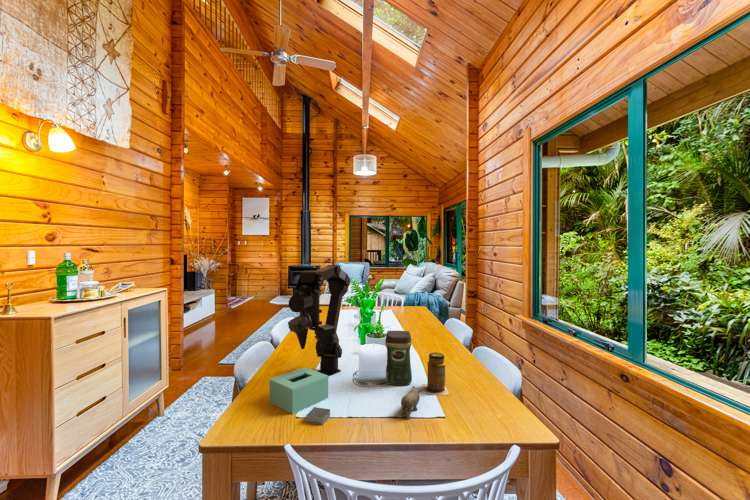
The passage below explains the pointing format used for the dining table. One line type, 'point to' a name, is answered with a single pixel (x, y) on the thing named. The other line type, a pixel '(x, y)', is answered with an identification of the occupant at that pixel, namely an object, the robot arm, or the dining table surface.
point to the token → (318, 416)
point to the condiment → (436, 375)
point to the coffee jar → (398, 358)
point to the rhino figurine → (410, 402)
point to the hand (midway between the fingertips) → (311, 351)
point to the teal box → (298, 389)
